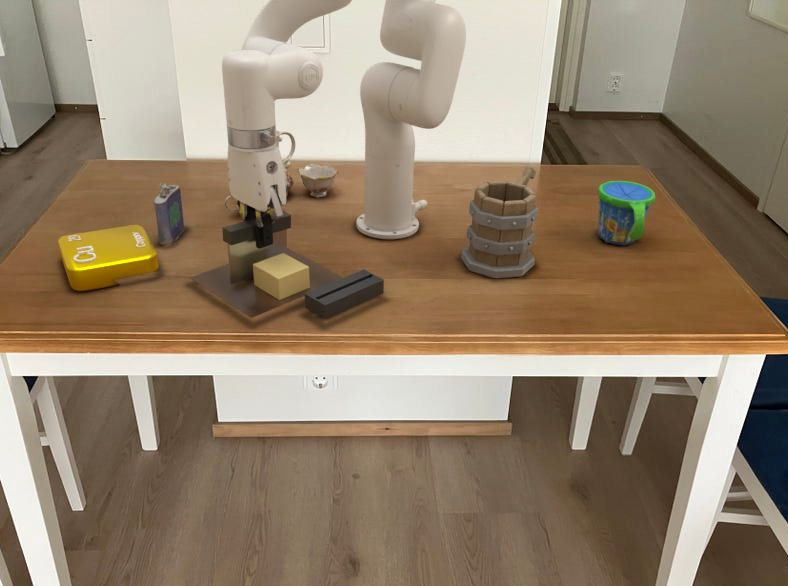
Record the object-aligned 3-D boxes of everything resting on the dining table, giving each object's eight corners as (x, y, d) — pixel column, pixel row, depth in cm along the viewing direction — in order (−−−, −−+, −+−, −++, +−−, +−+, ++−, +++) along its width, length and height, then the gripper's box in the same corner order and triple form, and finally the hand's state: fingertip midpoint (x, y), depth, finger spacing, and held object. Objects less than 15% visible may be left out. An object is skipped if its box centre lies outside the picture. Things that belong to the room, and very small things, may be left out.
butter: (284, 273, 136) (283, 252, 134) (309, 287, 132) (309, 266, 130) (254, 285, 132) (252, 264, 130) (279, 300, 128) (278, 278, 126)
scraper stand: (363, 289, 135) (363, 269, 133) (383, 300, 132) (384, 279, 130) (305, 314, 127) (304, 293, 125) (325, 326, 124) (324, 305, 122)
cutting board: (281, 251, 146) (281, 244, 145) (345, 286, 136) (345, 278, 135) (190, 285, 134) (189, 277, 134) (252, 325, 124) (251, 317, 123)
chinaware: (252, 236, 155) (252, 157, 145) (199, 205, 163) (195, 128, 153) (347, 197, 173) (353, 125, 163) (295, 171, 181) (298, 101, 171)
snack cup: (655, 256, 149) (667, 206, 143) (601, 255, 148) (611, 205, 143) (631, 222, 162) (641, 175, 156) (581, 222, 161) (589, 175, 156)
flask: (170, 247, 146) (162, 193, 140) (155, 246, 147) (146, 192, 141) (187, 228, 154) (180, 176, 148) (173, 226, 154) (166, 175, 148)
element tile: (162, 277, 137) (158, 253, 134) (73, 294, 131) (67, 268, 128) (144, 243, 148) (140, 220, 145) (61, 257, 142) (55, 233, 139)
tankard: (513, 285, 138) (524, 205, 129) (451, 265, 143) (457, 188, 135) (556, 245, 152) (569, 171, 143) (498, 229, 157) (507, 157, 149)
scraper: (283, 262, 139) (282, 210, 134) (291, 267, 138) (291, 214, 133) (225, 281, 132) (222, 227, 126) (233, 286, 130) (230, 231, 125)
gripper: (303, 143, 119) (306, 252, 129) (241, 119, 128) (248, 222, 139) (264, 153, 115) (270, 265, 125) (202, 127, 124) (213, 234, 134)
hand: (258, 242), depth 132 cm, fingers closed on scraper, 2 cm apart
